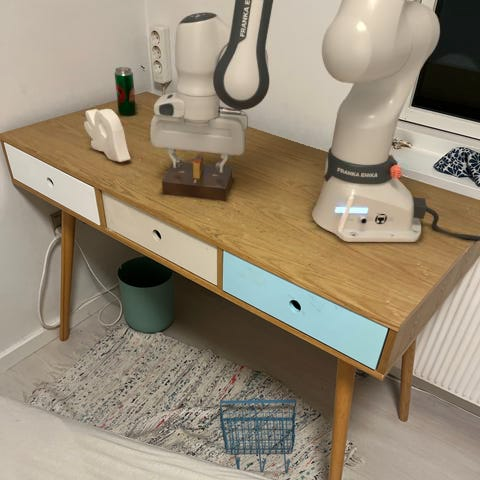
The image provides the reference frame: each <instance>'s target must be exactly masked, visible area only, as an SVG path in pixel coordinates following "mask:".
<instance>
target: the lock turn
mask: <svg viewBox="0 0 480 480" xmlns="http://www.w3.org/2000/svg"><path fill="white" fill-rule="evenodd" d="M204 155H205V154H203V153H197V155H196V156H195V158H194V160H193V162H192V163H193V178H197V179H200V177H201V174H202V172H203V170H204V164H205V162H204V161H205V159H204V157H205V156H204Z"/></svg>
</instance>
